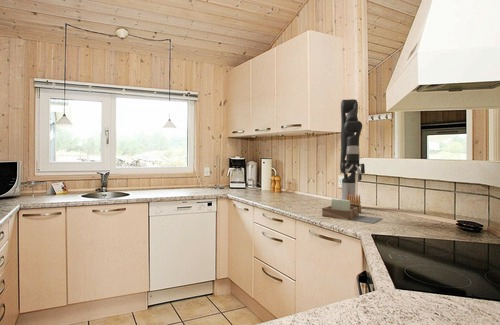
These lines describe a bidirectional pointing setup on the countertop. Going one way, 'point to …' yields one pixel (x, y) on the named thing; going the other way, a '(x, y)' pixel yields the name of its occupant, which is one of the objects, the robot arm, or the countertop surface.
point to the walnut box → (340, 213)
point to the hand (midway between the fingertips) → (352, 180)
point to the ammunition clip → (354, 201)
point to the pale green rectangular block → (340, 204)
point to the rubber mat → (366, 219)
